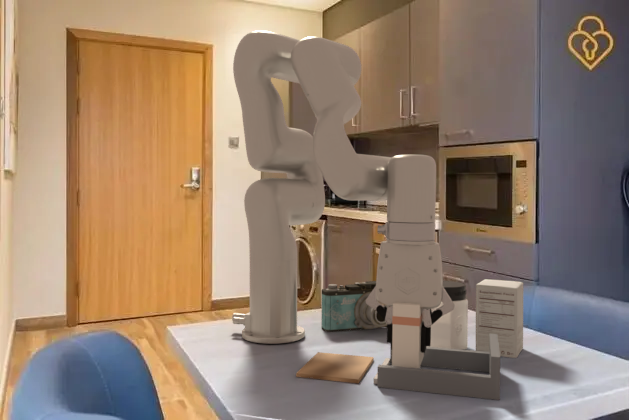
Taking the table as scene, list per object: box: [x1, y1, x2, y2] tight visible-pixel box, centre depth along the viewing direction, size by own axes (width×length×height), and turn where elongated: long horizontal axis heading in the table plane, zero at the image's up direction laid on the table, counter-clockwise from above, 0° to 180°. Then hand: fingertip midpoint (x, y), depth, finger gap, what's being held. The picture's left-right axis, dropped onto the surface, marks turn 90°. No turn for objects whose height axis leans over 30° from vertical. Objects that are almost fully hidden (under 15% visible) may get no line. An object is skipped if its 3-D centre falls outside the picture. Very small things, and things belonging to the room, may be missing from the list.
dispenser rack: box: [373, 334, 501, 401], centre depth 84 cm, size 18×13×6 cm
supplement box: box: [475, 278, 524, 359], centre depth 100 cm, size 7×7×13 cm
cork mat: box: [295, 351, 375, 384], centre depth 89 cm, size 10×12×1 cm
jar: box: [427, 280, 469, 350], centre depth 102 cm, size 9×8×12 cm
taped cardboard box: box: [391, 302, 424, 369], centre depth 86 cm, size 4×8×10 cm, turn 163°
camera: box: [321, 280, 388, 333], centre depth 114 cm, size 16×10×10 cm, turn 109°
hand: (408, 347), depth 86 cm, fingers closed on taped cardboard box, 4 cm apart
